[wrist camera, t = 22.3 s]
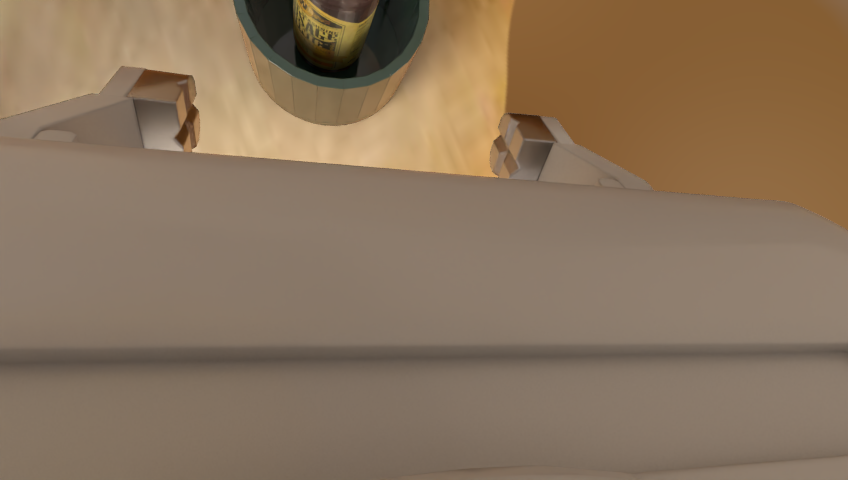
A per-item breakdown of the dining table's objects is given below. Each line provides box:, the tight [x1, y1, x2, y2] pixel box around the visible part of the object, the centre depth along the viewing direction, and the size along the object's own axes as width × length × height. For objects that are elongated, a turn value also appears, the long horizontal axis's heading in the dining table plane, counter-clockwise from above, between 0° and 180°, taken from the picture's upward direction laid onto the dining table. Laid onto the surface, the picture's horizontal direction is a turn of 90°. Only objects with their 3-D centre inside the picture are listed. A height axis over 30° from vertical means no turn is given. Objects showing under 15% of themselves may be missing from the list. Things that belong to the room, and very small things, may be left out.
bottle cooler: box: [233, 0, 429, 126], centre depth 40 cm, size 15×15×10 cm
